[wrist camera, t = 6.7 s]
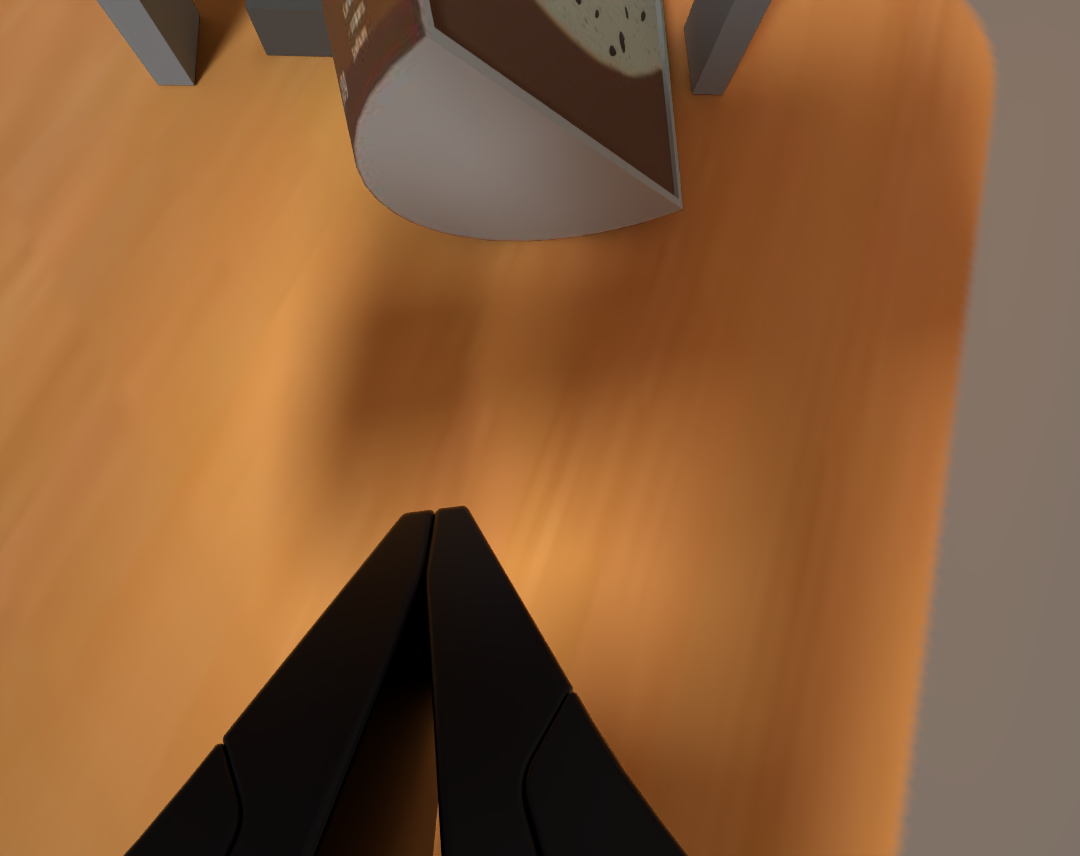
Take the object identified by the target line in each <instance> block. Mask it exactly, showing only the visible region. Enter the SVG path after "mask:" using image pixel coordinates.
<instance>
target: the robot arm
mask: <svg viewBox="0 0 1080 856" xmlns="http://www.w3.org/2000/svg"><path fill="white" fill-rule="evenodd" d="M223 743H224V745H223V744H217V745H216V746H215V747H214V748H213V750H212V751H211V752H210V753H209V754H208V756H207V757H206V758H205V759H204V761H203V762H202V763H201V764H200V766H199V767H198V768H197V769H196V771H195V772H194V773H193V774H192V776H191V777H190V778H189V779H188V780H187V782H186V783H185V784H184V785H183V786H182V788H181V789H180V790H179V791H178V792H177V794H176V795H175V796H174V797H173V798H172V800H171V801H170V802H169V803H168V804H167V805H166V807H165V808H164V809H163V810H162V811H161V813H160V814H159V815H158V816H157V817H156V819H155V820H154V821H153V822H152V823H151V825H150V826H149V827H148V828H147V829H146V830H145V832H144V833H143V834H142V835H141V836H140V838H139V839H138V840H137V841H136V842H135V843H134V844H133V846H132V847H131V848H130V849H129V850H128V851H127V852H126V853H125V854H124V856H433V849H434V839H435V829H436V818H437V808H438V806H439V823H440V840H441V856H688V855H687V854H686V853H685V851H684V850H683V849H682V847H681V846H680V845H679V844H678V842H677V841H676V840H675V838H674V837H673V836H672V834H671V833H670V832H669V831H668V829H667V828H666V827H665V825H664V824H663V823H662V822H661V820H660V819H659V817H658V816H657V815H656V813H655V812H654V811H653V809H652V808H651V806H650V805H649V804H648V802H647V801H646V799H645V798H644V797H643V795H642V794H641V793H640V791H639V790H638V788H637V787H636V786H635V784H634V783H633V781H632V780H631V779H630V777H629V776H628V775H627V773H626V772H625V770H624V769H623V768H622V766H621V764H620V763H619V761H618V760H617V758H616V757H615V755H614V753H613V752H612V750H611V749H610V747H609V746H608V744H607V742H606V741H605V739H604V738H603V736H602V734H601V733H600V731H599V730H598V728H597V727H596V725H595V723H594V722H593V720H592V718H591V717H590V715H589V713H588V712H587V710H586V708H585V707H584V705H583V703H582V701H581V700H580V698H579V696H578V695H577V693H575V692H573V687H572V685H571V683H570V682H569V680H568V678H567V677H566V675H565V673H564V672H563V670H562V668H561V666H560V665H559V663H558V661H557V660H556V658H555V656H554V654H553V653H552V651H551V649H550V648H549V646H548V644H547V643H546V641H545V639H544V637H543V636H542V634H541V632H540V631H539V629H538V627H537V625H536V624H535V622H534V620H533V619H532V617H531V615H530V614H529V612H528V610H527V608H526V607H525V605H524V603H523V602H522V600H521V598H520V596H519V595H518V593H517V591H516V590H515V588H514V586H513V584H512V583H511V581H510V579H509V578H508V576H507V574H506V573H505V571H504V569H503V567H502V566H501V564H500V562H499V561H498V559H497V557H496V555H495V554H494V552H493V550H492V549H491V547H490V545H489V544H488V542H487V540H486V538H485V537H484V535H483V533H482V532H481V530H480V528H479V526H478V525H477V523H476V521H475V520H474V518H473V516H472V515H471V513H470V511H469V510H468V508H467V507H465V506H458V507H450V508H442V509H439V510H438V511H436V513H434V511H432V510H426V511H418V512H410V513H406V514H404V515H402V516H401V517H400V518H399V520H398V521H397V522H396V523H395V525H394V526H393V527H392V528H391V529H390V531H389V532H388V533H387V534H386V536H385V537H384V538H383V539H382V541H381V542H380V543H379V544H378V546H377V547H376V548H375V549H374V551H373V552H372V553H371V554H370V556H369V557H368V558H367V559H366V560H365V562H364V563H363V564H362V565H361V567H360V568H359V569H358V570H357V572H356V573H355V574H354V575H353V577H352V578H351V579H350V580H349V582H348V583H347V584H346V585H345V586H344V588H343V589H342V590H341V591H340V593H339V594H338V595H337V596H336V598H335V599H334V600H333V601H332V603H331V604H330V605H329V606H328V608H327V609H326V610H325V611H324V612H323V614H322V615H321V616H320V617H319V619H318V620H317V621H316V622H315V624H314V625H313V626H312V627H311V629H310V630H309V631H308V632H307V634H306V635H305V636H304V637H303V639H302V640H301V641H300V642H299V643H298V645H297V646H296V647H295V648H294V650H293V651H292V652H291V653H290V655H289V656H288V657H287V658H286V660H285V661H284V662H283V663H282V665H281V666H280V667H279V668H278V669H277V671H276V672H275V673H274V674H273V676H272V677H271V678H270V679H269V681H268V682H267V683H266V684H265V686H264V687H263V688H262V689H261V691H260V692H259V693H258V694H257V695H256V697H255V698H254V699H253V700H252V702H251V703H250V704H249V705H248V707H247V708H246V709H245V710H244V712H243V713H242V714H241V715H240V717H239V718H238V719H237V720H236V722H235V723H234V724H233V725H232V726H231V728H230V729H229V730H228V731H227V733H226V734H225V735H224V737H223Z"/></svg>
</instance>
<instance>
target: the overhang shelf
mask: <svg viewBox="0 0 1080 856" xmlns="http://www.w3.org/2000/svg"><path fill="white" fill-rule="evenodd" d="M97 1H98V3H99V4H100V5H101V7H102V8H103V10H104V11H105V12H106V14H107V15H108V16H109V18H110V19H111V21H112V22H113V23H114V25H115V26H116V28H117V29H118V30H119V32H120V33H121V34H122V36H123V37H124V39H125V40H126V41H127V43H128V44H129V46H130V47H131V48H132V50H133V51H134V52H135V54H136V55H137V57H138V58H139V59H140V61H141V62H142V63H143V65H144V66H145V68H146V69H147V70H148V72H149V73H150V75H151V76H152V77H153V79H154V80H155V81H156V83H157V84H158V85H194V82H195V69H196V55H197V42H198V28H199V15H200V14H199V12H198V10H197V9H196V7H195V5H194V3H193V1H192V0H97ZM770 2H771V0H694V2H693V5H692V8H691V10H690V13H689V16H688V18H687V21H686V24H685V26H684V33H685V41H686V48H687V56H688V64H689V71H690V79H691V86H692V94H719V95H723V93H724V91H725V89H726V88H727V86H728V84H729V82H730V80H731V78H732V76H733V74H734V72H735V70H736V68H737V66H738V64H739V62H740V60H741V58H742V56H743V55H744V53H745V51H746V49H747V47H748V45H749V43H750V41H751V39H752V37H753V35H754V33H755V31H756V29H757V27H758V25H759V23H760V22H761V20H762V18H763V16H764V14H765V12H766V10H767V8H768V6H769V4H770ZM246 10H247V12H248V14H249V16H250V19H251V21H252V23H253V25H254V27H255V30H256V32H257V34H258V36H259V38H260V41H261V43H262V45H263V47H264V49H265V52H266V54H267V55H285V56H330V57H333V54H332V50H331V45H330V40H329V35H328V31H327V26H326V21H325V17H324V12H323V7H322V2H321V0H246Z"/></svg>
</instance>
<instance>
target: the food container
mask: <svg viewBox="0 0 1080 856" xmlns="http://www.w3.org/2000/svg"><path fill="white" fill-rule="evenodd" d="M321 2H322V7H323V12H324V17H325V21H326V26H327V31H328V35H329V40H330V45H331V50H332V54H333V59H334V64H335V68H336V73H337V78H338V83H339V87H340V92H341V97H342V101H343V106H344V111H345V115H346V120H347V125H348V130H349V134H350V139H351V144H352V148H353V153H354V158H355V163H356V167H357V169H358V171H359V174H360V176H361V178H362V180H363V182H364V184H365V186H366V187H367V188H368V189H369V191H370V192H371V193H372V194H373V195H374V197H375V198H376V199H377V200H378V201H379V202H381V203H382V204H383V205H385V206H386V207H387V208H388V209H390V210H391V211H392V212H394V213H395V214H397V215H399V216H401V217H403V218H405V219H407V220H409V221H410V222H413V223H415V224H418V225H421V226H423V227H426V228H429V229H431V230H435V231H439V232H443V233H447V234H451V235H455V236H462V237H470V238H477V239H484V240H509V241H541V240H550V239H558V238H567V237H576V236H585V235H592V234H596V233H601V232H605V231H610V230H614V229H618V228H623V227H627V226H632V225H636V224H640V223H644V222H647V221H650V220H653V219H656V218H659V217H662V216H666V215H669V214H672V213H675V212H678V211H681V210H683V202H682V192H681V182H680V172H679V162H678V152H677V142H676V131H675V121H674V111H673V101H672V91H671V81H670V71H669V61H668V50H667V40H666V30H665V20H664V10H663V0H321Z"/></svg>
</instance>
